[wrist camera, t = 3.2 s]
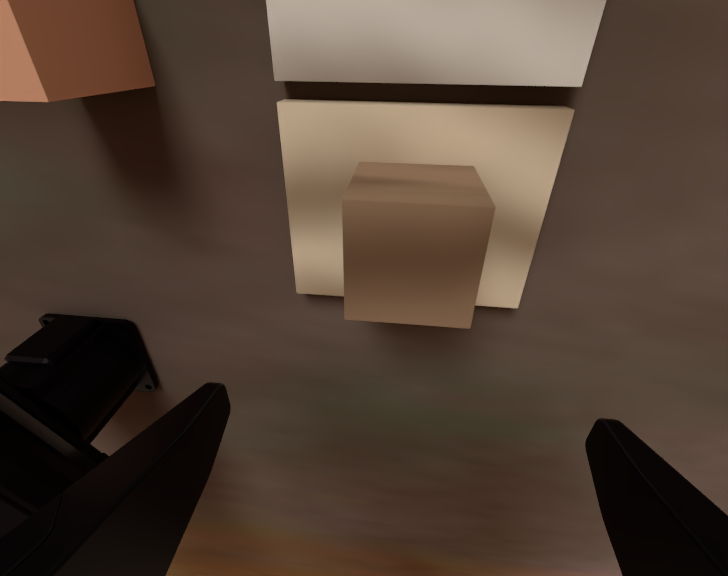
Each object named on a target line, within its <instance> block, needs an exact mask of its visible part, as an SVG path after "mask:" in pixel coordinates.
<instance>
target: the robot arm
mask: <svg viewBox="0 0 728 576" xmlns="http://www.w3.org/2000/svg"><path fill="white" fill-rule="evenodd" d="M39 322H40V324H41V325H42V327H43V328H41V329H40V330H39V331H37V332H36V333H35V334H33V335H32V336H31V337H30V338H28V339H27V340H26V341H24V342H23V343H22V344H20V345H19V346H18V347H16V348H15V349H14V350H12V351H11V352H10V353H8V354H7V356H6V357H5V361H6V362H7V363H6V364H4V365H3V366H2V367H0V576H165V575H166V573H167V571H168V569H169V566H170V564H171V562H172V560H173V557H174V555H175V553H176V551H177V548H178V546H179V544H180V541H181V539H182V537H183V535H184V532H185V530H186V528H187V526H188V523H189V521H190V519H191V517H192V514H193V512H194V510H195V507H196V505H197V503H198V501H199V498H200V496H201V494H202V492H203V489H204V487H205V485H206V482H207V480H208V478H209V475H210V473H211V470H212V467H213V464H214V461H215V458H216V455H217V452H218V449H219V446H220V443H221V439H222V436H223V433H224V430H225V427H226V424H227V421H228V418H229V414H230V402H229V398H228V394H227V391H226V387H225V385H224V384H222V383H212V382H209V383H206V384H204V385H203V386H202V387H200V388H199V389H198V390H196V391H195V392H194V393H192V394H191V395H190V396H189V397H187V398H186V399H185V400H183V401H182V402H181V403H179V404H178V405H177V406H175V407H174V408H173V409H171V410H170V411H169V412H167V413H166V414H165V415H163V416H162V417H161V418H159V419H158V420H157V421H156V422H154V423H153V424H152V425H150V426H149V427H148V428H146V429H145V430H144V431H142V432H141V433H140V434H138V435H137V436H136V437H134V438H133V439H132V440H130V441H129V442H128V443H126V444H125V445H124V446H123V447H121V448H120V449H119V450H117V451H116V452H115V453H113V454H112V455H111V456H108V455H107V454H105V453H101V452H100V451H98V450H97V449H96V448H94V447H93V446H92V445H91V444H90V443H91V442H92V441H93V440H94V439H95V437H96V436H97V435H98V434H99V432H100V431H101V430H102V429H103V427H104V426H105V425H106V424H107V422H108V421H109V420H110V419H111V418H112V416H113V415H114V414H115V413H116V411H117V410H118V409H119V408H120V406H121V405H122V404H123V403H124V402H125V400H126V399H127V398H128V397H129V395H130V394H131V393H132V392H133V390H137V391H148V392H153V391H155V389H156V388H157V387H158V382H157V380H156V378H155V375H154V373H153V370H152V368H151V365H150V363H149V361H148V358H147V356H146V353H145V351H144V348H143V346H142V344H141V341H140V339H139V336H138V334H137V331H136V329H135V327H134V325H133V323H131V322H130V321H128V320H125V319H112V318H99V317H87V316H74V315H61V314H45V315H43V316H42V317H41V318H39ZM585 447H586V453H587V457H588V461H589V465H590V469H591V473H592V478H593V482H594V486H595V490H596V494H597V498H598V502H599V507H600V510H601V514H602V518H603V521H604V524H605V527H606V530H607V533H608V535H609V538H610V541H611V544H612V547H613V550H614V552H615V555H616V558H617V561H618V564H619V567H620V569H621V572H622V575H623V576H728V515H726V514H725V513H724V512H723V511H722V510H721V509H720V508H718V507H717V506H716V505H715V504H714V503H713V502H712V501H710V500H709V499H708V498H707V497H706V496H705V495H704V494H702V493H701V492H700V491H699V490H698V489H697V488H696V487H694V486H693V485H692V484H691V483H690V482H689V481H688V480H687V479H685V478H684V477H683V476H682V475H681V474H680V473H679V472H677V471H676V470H675V469H674V468H673V467H672V466H671V465H669V464H668V463H667V462H666V461H665V460H664V459H663V458H661V457H660V456H659V455H658V454H657V453H656V452H655V451H653V450H652V449H651V448H650V447H649V446H648V445H647V444H645V443H644V442H643V441H642V440H641V439H640V438H639V437H637V436H636V435H635V434H634V433H633V432H632V431H631V430H629V429H628V428H627V427H626V426H625V425H624V424H623V423H621V422H620V421H618V420H614V419H604V418H600V419H598V420H597V421H596V422H595V424H594V426H593V428H592V429H591V431H590V433H589V435H588V437H587V439H586V443H585Z"/></svg>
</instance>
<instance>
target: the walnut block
mask: <svg viewBox="0 0 728 576" xmlns="http://www.w3.org/2000/svg"><path fill="white" fill-rule="evenodd" d="M495 208H496V207H495V205H494V203H493V201H492V199H491V197H490V196H489V194H488V192H487V190H486V188H485V186H484V184H483V182H482V180H481V178H480V177H479V175H478V173H477V171H476V169H475V167H474V166H458V165H432V164H406V163H380V162H359V164H358V166H357V168H356V170H355V173H354V175H353V177H352V179H351V181H350V183H349V186H348V188H347V190H346V192H345V194H344V197H343V199H342V226H343V271H344V315H345V319H346V320H360V321H373V322H387V323H400V324H414V325H427V326H441V327H454V328H468V329H470V327H471V322H472V317H473V313H474V308H475V303H476V298H477V294H478V289H479V284H480V279H481V275H482V270H483V265H484V260H485V256H486V251H487V246H488V241H489V237H490V232H491V227H492V222H493V218H494V213H495Z"/></svg>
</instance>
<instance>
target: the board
mask: <svg viewBox="0 0 728 576" xmlns="http://www.w3.org/2000/svg"><path fill="white" fill-rule="evenodd" d="M605 3H606V0H266V4H267V14H268V23H269V33H270V42H271V52H272V62H273V71H274V81H315V82H365V83H415V84H464V85H514V86H564V87H582V83H583V80H584V76H585V73H586V69H587V66H588V62H589V59H590V55H591V52H592V48H593V45H594V41H595V38H596V34H597V31H598V27H599V24H600V21H601V17H602V14H603V10H604V7H605ZM277 109H278V119H279V128H280V138H281V147H282V157H283V167H284V176H285V186H286V195H287V205H288V214H289V224H290V233H291V243H292V252H293V262H294V272H295V281H296V291H297V293H302V294H317V295H331V296H344V271H343V226H342V199H343V197H344V194H345V192H346V190H347V188H348V186H349V183H350V181H351V179H352V177H353V175H354V173H355V170H356V168H357V166H358V164H359V162H380V163H406V164H432V165H458V166H474V167H475V169H476V171H477V173H478V175H479V177H480V178H481V180H482V182H483V184H484V186H485V188H486V190H487V192H488V194H489V196H490V197H491V199H492V201H493V203H494V205H495V207H496V208H495V213H494V218H493V222H492V227H491V232H490V237H489V241H488V246H487V251H486V256H485V260H484V265H483V270H482V275H481V279H480V284H479V289H478V294H477V298H476V303H475V305H476V306H491V307H505V308H518V306H519V302H520V299H521V295H522V292H523V288H524V285H525V281H526V278H527V274H528V271H529V267H530V264H531V260H532V257H533V253H534V250H535V247H536V243H537V240H538V236H539V233H540V229H541V226H542V222H543V219H544V215H545V212H546V208H547V205H548V201H549V198H550V194H551V191H552V187H553V184H554V180H555V177H556V174H557V170H558V167H559V163H560V160H561V156H562V153H563V149H564V146H565V142H566V139H567V135H568V132H569V128H570V125H571V121H572V118H573V114H574V111H575V110H574V109H571V108H568V107H566V106H545V105H504V104H463V103H422V102H381V101H340V100H299V99H284V100H282V101H279V102H277Z"/></svg>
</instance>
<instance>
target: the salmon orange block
mask: <svg viewBox="0 0 728 576" xmlns="http://www.w3.org/2000/svg"><path fill="white" fill-rule="evenodd" d="M153 86H155V82H154V78H153V74H152V70H151V66H150V62H149V59H148V55H147V51H146V47H145V43H144V39H143V35H142V31H141V27H140V24H139V20H138V16H137V12H136V8H135V4H134V0H0V101H26V102H53V101H59V100H66V99H73V98H79V97H86V96H93V95H100V94H106V93H113V92H120V91H126V90H133V89H140V88H146V87H153Z"/></svg>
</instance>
